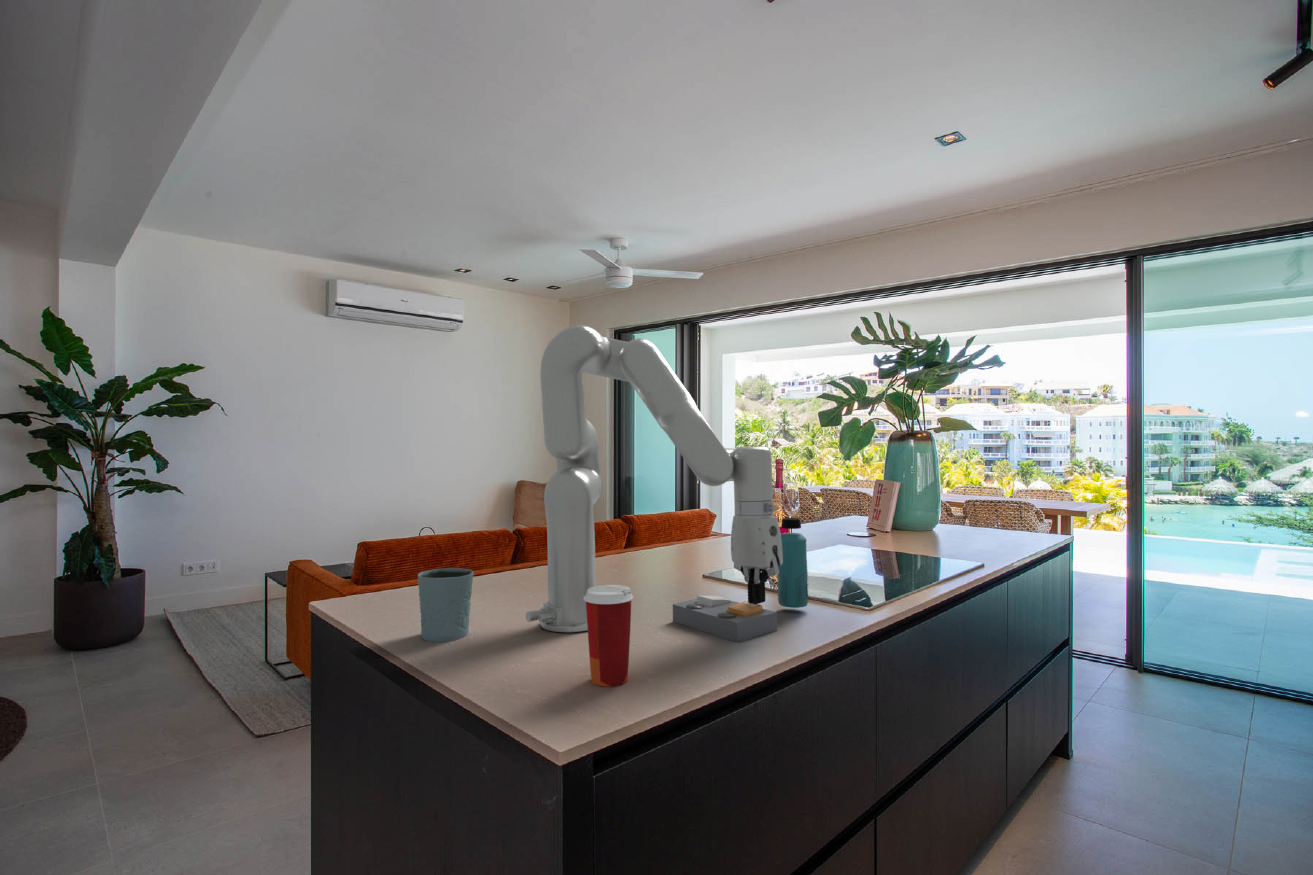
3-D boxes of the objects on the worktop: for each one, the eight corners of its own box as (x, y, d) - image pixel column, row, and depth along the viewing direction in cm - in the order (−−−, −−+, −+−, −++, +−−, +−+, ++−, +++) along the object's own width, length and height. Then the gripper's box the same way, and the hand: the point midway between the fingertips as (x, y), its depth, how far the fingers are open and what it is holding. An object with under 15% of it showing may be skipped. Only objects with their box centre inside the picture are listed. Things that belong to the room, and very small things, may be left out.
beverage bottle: (811, 614, 135) (810, 519, 135) (779, 615, 135) (778, 519, 136) (805, 606, 142) (803, 515, 142) (774, 607, 142) (773, 516, 142)
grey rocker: (711, 609, 129) (712, 598, 129) (696, 605, 133) (697, 595, 133) (728, 609, 132) (729, 599, 133) (713, 605, 136) (714, 595, 136)
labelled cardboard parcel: (745, 621, 122) (744, 610, 122) (728, 617, 126) (727, 606, 126) (762, 615, 125) (762, 604, 125) (745, 610, 129) (745, 600, 129)
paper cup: (642, 675, 101) (641, 586, 101) (619, 692, 94) (618, 597, 95) (599, 668, 105) (598, 582, 105) (574, 684, 98) (573, 592, 98)
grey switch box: (737, 641, 118) (737, 621, 118) (672, 621, 132) (672, 603, 132) (776, 630, 125) (776, 611, 125) (711, 611, 139) (711, 594, 139)
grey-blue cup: (408, 635, 124) (408, 573, 124) (456, 624, 131) (456, 565, 131) (435, 646, 117) (434, 580, 117) (484, 634, 124) (483, 571, 125)
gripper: (796, 509, 124) (799, 605, 124) (738, 505, 136) (741, 593, 135) (770, 513, 119) (774, 613, 119) (713, 508, 131) (716, 599, 131)
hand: (756, 602), depth 127 cm, fingers closed
